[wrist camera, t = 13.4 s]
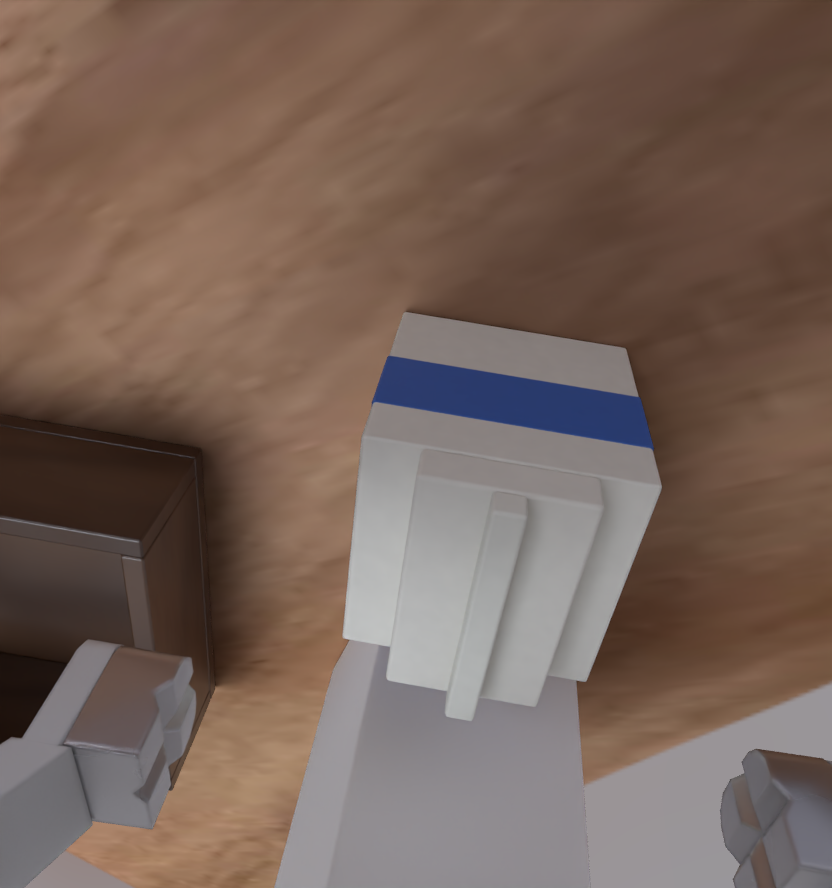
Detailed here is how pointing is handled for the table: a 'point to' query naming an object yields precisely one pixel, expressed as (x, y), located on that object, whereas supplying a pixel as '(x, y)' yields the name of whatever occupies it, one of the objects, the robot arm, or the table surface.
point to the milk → (437, 789)
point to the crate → (98, 559)
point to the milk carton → (496, 508)
